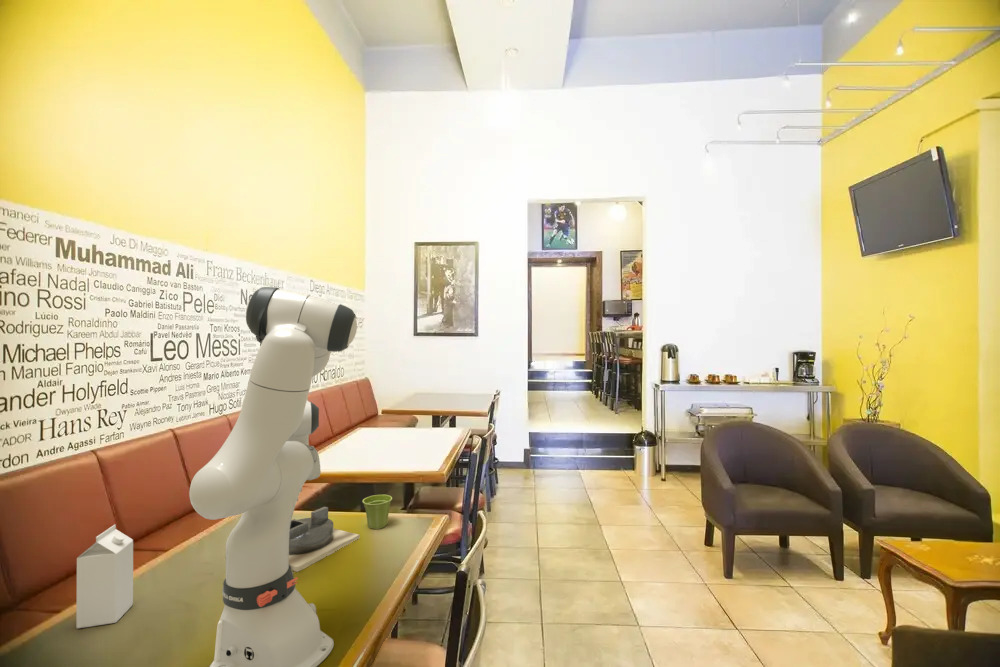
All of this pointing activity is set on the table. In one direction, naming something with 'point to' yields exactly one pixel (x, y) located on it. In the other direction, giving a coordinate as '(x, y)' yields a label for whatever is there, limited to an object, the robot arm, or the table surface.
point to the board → (322, 550)
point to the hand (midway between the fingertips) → (292, 490)
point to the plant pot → (377, 510)
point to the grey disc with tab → (310, 532)
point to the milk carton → (105, 579)
